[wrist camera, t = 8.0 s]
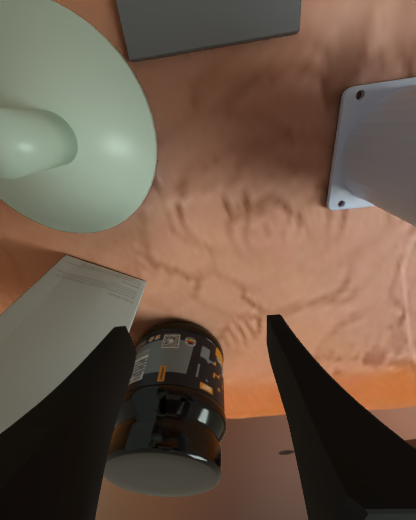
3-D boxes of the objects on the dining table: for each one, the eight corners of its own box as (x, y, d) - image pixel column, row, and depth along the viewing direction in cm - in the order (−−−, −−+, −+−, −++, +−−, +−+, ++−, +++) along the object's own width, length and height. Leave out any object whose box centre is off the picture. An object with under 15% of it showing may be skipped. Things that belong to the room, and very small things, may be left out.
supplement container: (213, 378, 31) (212, 504, 21) (135, 367, 30) (95, 492, 20) (232, 325, 26) (244, 458, 16) (139, 310, 25) (86, 439, 15)
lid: (135, -12, 10) (85, -97, 6) (170, 225, 16) (155, 258, 12) (-100, 10, 11) (-283, -55, 7) (15, 231, 16) (-48, 265, 12)
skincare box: (60, 295, 24) (-110, 485, 12) (66, 249, 21) (-153, 435, 9) (137, 319, 26) (62, 511, 13) (153, 279, 23) (75, 476, 10)
